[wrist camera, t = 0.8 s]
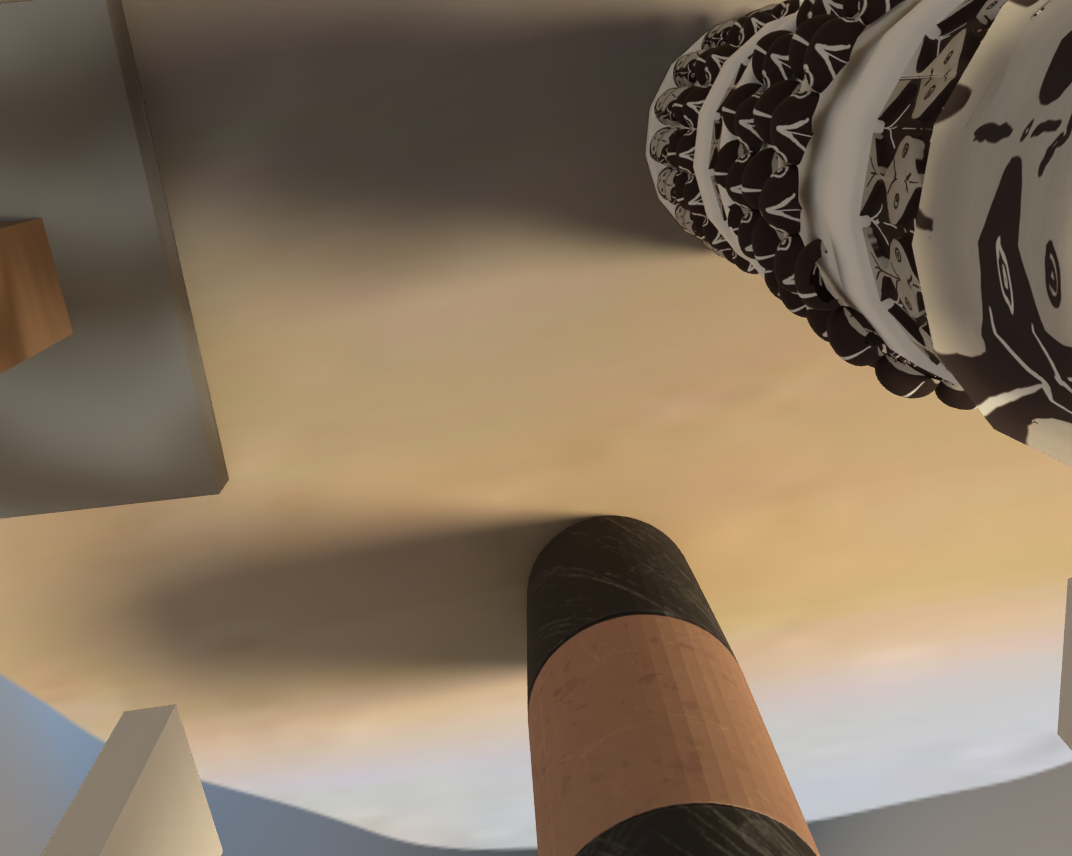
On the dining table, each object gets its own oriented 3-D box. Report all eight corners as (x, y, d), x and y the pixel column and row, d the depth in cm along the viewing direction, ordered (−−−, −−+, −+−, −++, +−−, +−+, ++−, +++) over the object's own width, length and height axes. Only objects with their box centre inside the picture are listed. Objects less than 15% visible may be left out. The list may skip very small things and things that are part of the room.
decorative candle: (885, 244, 37) (1596, 501, 13) (647, 279, 37) (930, 599, 13) (880, -14, 34) (1790, -282, 10) (622, 25, 34) (928, -154, 10)
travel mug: (517, 512, 40) (541, 886, 21) (699, 504, 40) (886, 866, 21) (523, 670, 42) (549, 1132, 23) (694, 662, 42) (858, 1112, 24)
